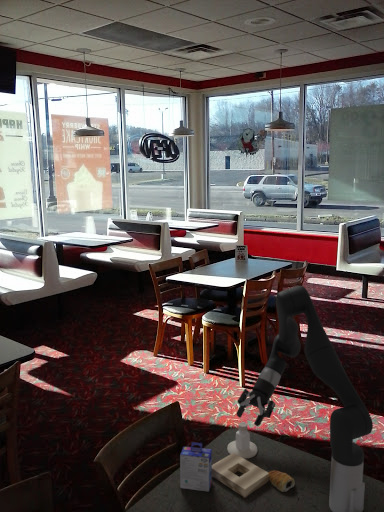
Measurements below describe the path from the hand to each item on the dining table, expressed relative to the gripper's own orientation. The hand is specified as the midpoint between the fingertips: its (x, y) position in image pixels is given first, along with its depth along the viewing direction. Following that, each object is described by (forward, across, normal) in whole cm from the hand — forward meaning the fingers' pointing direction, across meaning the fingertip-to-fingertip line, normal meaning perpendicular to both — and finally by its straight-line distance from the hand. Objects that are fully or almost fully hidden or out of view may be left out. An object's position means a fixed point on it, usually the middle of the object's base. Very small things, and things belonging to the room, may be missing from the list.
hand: (246, 420), depth 182 cm
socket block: (+19, +10, -3) cm, 21 cm away
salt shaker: (+9, 0, +6) cm, 10 cm away
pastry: (+14, +21, +3) cm, 25 cm away
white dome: (+9, 0, +6) cm, 11 cm away
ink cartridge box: (+28, +3, -12) cm, 31 cm away
